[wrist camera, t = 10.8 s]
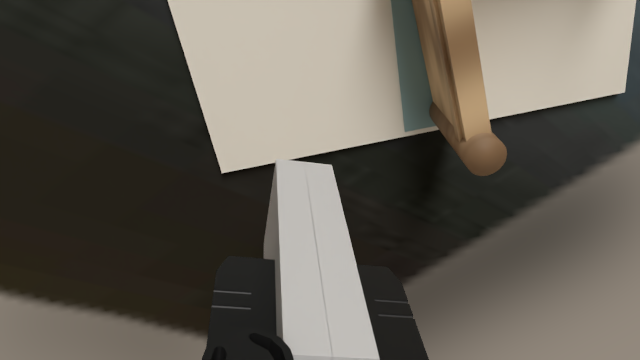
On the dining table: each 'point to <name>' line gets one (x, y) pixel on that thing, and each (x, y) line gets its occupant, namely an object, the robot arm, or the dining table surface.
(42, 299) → the dining table surface
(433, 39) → the fence wing
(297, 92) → the card
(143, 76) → the dining table surface
